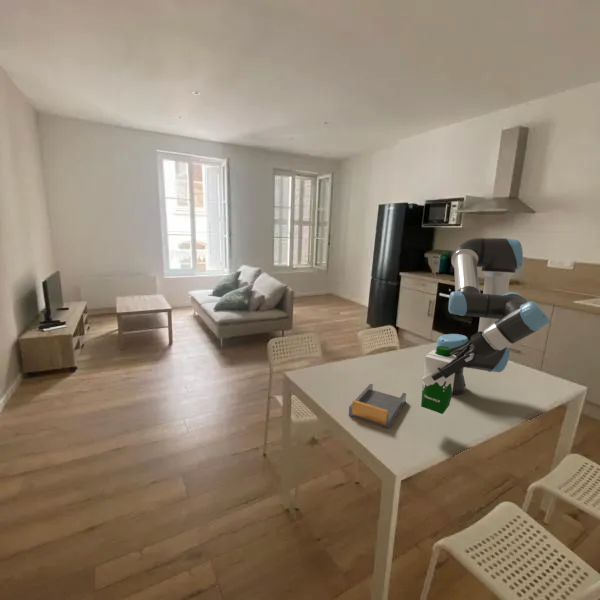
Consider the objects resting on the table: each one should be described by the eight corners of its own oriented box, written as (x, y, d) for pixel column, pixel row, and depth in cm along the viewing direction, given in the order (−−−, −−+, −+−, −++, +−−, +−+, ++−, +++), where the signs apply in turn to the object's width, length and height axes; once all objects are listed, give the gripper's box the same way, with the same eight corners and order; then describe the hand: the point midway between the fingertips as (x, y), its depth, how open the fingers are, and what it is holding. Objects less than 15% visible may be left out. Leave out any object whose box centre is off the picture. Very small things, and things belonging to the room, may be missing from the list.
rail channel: (369, 391, 135) (370, 378, 134) (405, 401, 128) (406, 387, 127) (348, 415, 117) (349, 400, 116) (389, 428, 109) (390, 413, 108)
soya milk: (452, 405, 108) (460, 349, 104) (444, 416, 101) (452, 357, 97) (426, 396, 114) (432, 343, 109) (416, 406, 107) (423, 350, 103)
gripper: (498, 363, 85) (429, 400, 97) (499, 340, 103) (440, 374, 115) (478, 340, 87) (412, 379, 99) (483, 322, 105) (426, 357, 117)
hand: (427, 376), depth 107 cm, fingers closed on soya milk, 9 cm apart
